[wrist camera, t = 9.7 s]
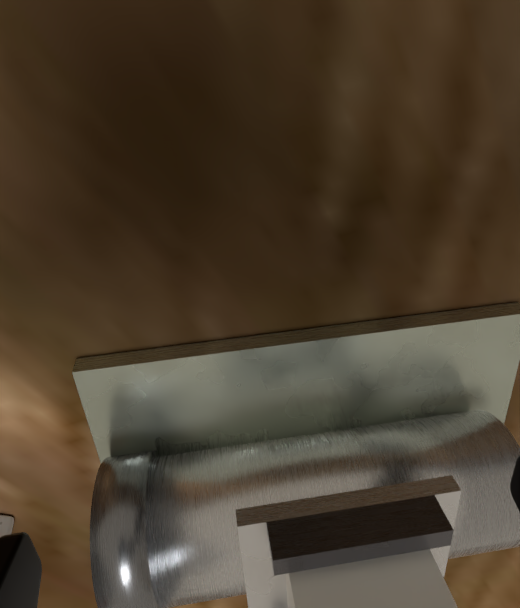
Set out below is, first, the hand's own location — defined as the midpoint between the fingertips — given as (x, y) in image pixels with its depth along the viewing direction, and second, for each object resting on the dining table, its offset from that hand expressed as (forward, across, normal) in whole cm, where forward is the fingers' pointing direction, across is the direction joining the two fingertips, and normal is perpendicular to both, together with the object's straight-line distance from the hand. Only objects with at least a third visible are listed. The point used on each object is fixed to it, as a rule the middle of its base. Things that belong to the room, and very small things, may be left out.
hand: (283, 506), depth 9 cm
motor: (+12, -3, +11) cm, 17 cm away
